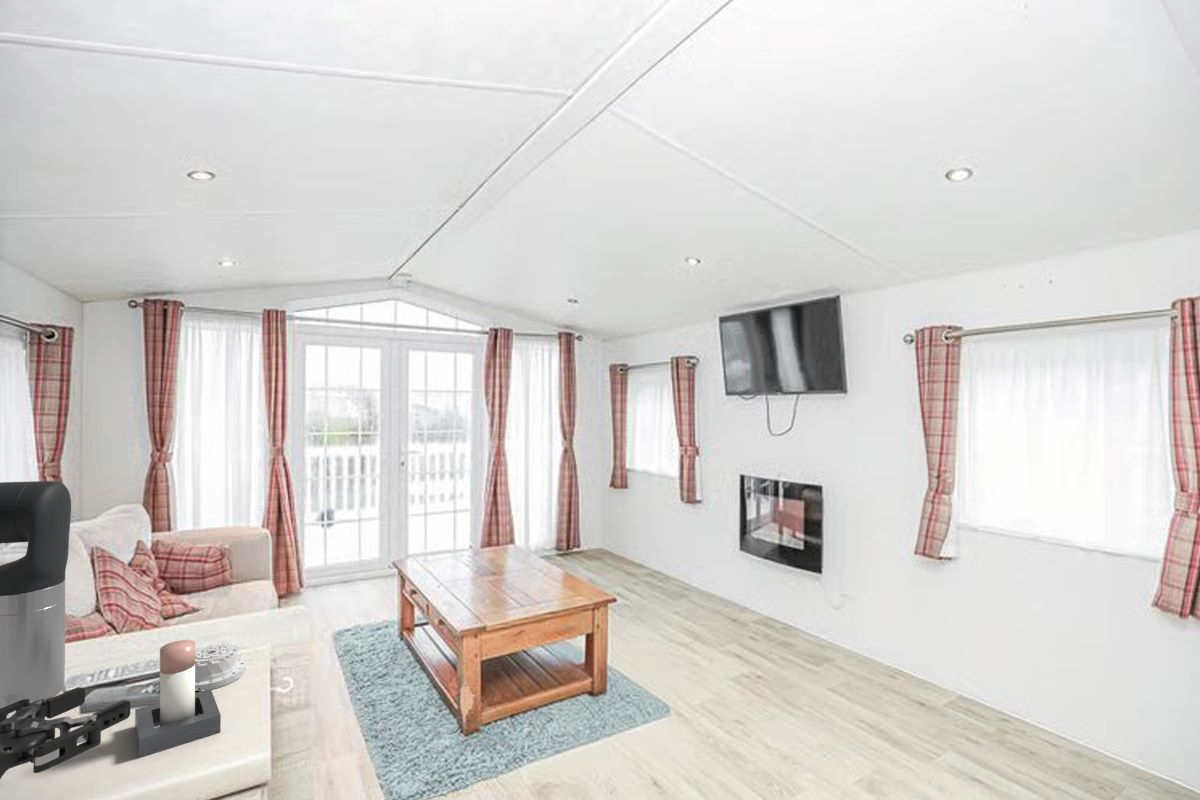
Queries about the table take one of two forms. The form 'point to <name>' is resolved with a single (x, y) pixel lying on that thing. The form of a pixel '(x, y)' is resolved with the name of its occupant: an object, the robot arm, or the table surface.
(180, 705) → the peg
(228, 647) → the mechanical component
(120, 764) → the table surface
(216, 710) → the socket
